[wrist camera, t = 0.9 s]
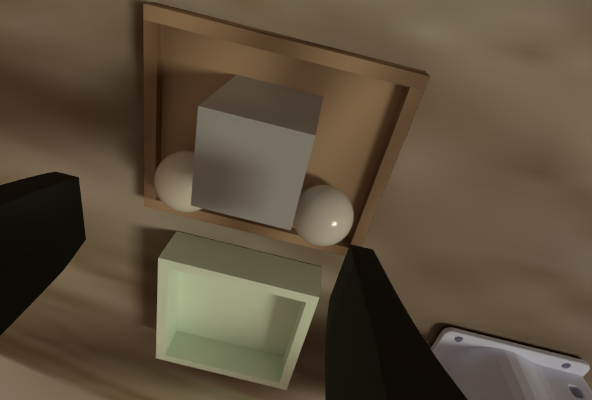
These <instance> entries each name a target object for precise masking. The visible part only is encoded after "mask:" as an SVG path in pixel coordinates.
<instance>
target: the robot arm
mask: <svg viewBox="0 0 592 400" xmlns="http://www.w3.org/2000/svg"><path fill="white" fill-rule="evenodd" d="M85 240H86V236H85V228H84V219H83V211H82V202H81V193H80V185H79V177H75V176H71V175H67V174H63V173H59V172H51V173H46V174H41V175H37V176H33V177H29V178H25V179H21V180H18V181H14V182H10V183H7V184H3V185H0V335H1V334H2V333H3V332H4V331H5V330H6V329H7V328H8V327H9V326H10V325H11V324H12V323H13V322H14V321H15V320H16V319H17V318H18V317H19V316H20V315H21V314H22V313H23V312H24V311H25V310H26V309H27V308H28V307H29V306H30V305H31V304H32V302H33V301H34V300H35V299H36V298H37V297H38V296H39V295H40V294H41V293H42V292H43V291H44V290H45V289H46V288H47V287H48V286H49V285H50V284H51V283H52V282H53V281H54V280H55V279H56V278H57V276H58V275H59V274H60V273H61V272H62V271H63V270H64V269H65V267H66V266H67V265H68V263H69V262H70V261H71V259H72V258H73V257H74V255H75V254H76V253H77V251H78V250H79V248H80V247H81V245H82V244H83V243H84V241H85ZM458 336H459V337H458ZM589 370H590V366H589V365H588V363H587V362H586V361H585V360H582V359H577V358H573V357H569V356H565V355H561V354H557V353H553V352H549V351H545V350H541V349H537V348H533V347H529V346H525V345H521V344H517V343H513V342H509V341H505V340H501V339H497V338H493V337H489V336H484V335H480V334H476V333H472V332H468V331H464V330H460V329H456V328H452V327H448V328H445V329H443V330H442V332H441V333H440V335H439V336H438V338H437V339H436V341H435V342H434V344H433V345H432V347H431V348H430V347H429V346H428V344H427V343H426V341H425V340H424V338H423V337H422V335H421V334H420V332H419V331H418V329H417V327H416V326H415V324H414V323H413V321H412V319H411V318H410V316H409V314H408V312H407V311H406V309H405V307H404V306H403V304H402V302H401V301H400V299H399V297H398V295H397V293H396V292H395V290H394V288H393V286H392V284H391V282H390V281H389V279H388V277H387V275H386V273H385V271H384V269H383V267H382V265H381V264H380V262H379V260H378V258H377V256H376V254H375V252H374V251H373V250H372V249H368V248H364V247H360V246H356V245H352V244H350V246H349V248H348V251H347V254H346V256H345V259H344V262H343V264H342V267H341V270H340V273H339V275H338V278H337V281H336V283H335V286H334V289H333V291H332V294H331V297H330V300H329V308H328V317H327V326H326V341H325V379H326V400H592V391H591V390H590V388H589V386H588V385H587V383H586V381H585V380H584V378H583V376H584V375H585V374H586V373H587V372H588V371H589Z"/></svg>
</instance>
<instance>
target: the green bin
mask: <svg viewBox="0 0 592 400" xmlns="http://www.w3.org/2000/svg"><path fill="white" fill-rule="evenodd" d="M321 274H322V267H319V266H315V265H311V264H307V263H303V262H299V261H295V260H291V259H287V258H283V257H279V256H275V255H271V254H267V253H263V252H259V251H255V250H251V249H247V248H243V247H239V246H235V245H231V244H227V243H223V242H219V241H215V240H211V239H207V238H202V237H198V236H194V235H190V234H186V233H182V232H178V231H176V233H175V234H174V236H173V237H172V238H171V240H170V241H169V243H168V244H167V246H166V247H165V249H164V250H163V251H162V253H161V254H160V256H159V257H158V287H157V332H156V358H157V359H161V360H165V361H169V362H173V363H177V364H181V365H185V366H190V367H194V368H198V369H202V370H206V371H210V372H214V373H218V374H222V375H226V376H231V377H235V378H239V379H243V380H247V381H251V382H255V383H259V384H263V385H267V386H271V387H276V388H280V389H284V390H287V387H288V385H289V382H290V379H291V376H292V373H293V371H294V368H295V365H296V362H297V359H298V357H299V354H300V351H301V348H302V345H303V343H304V340H305V337H306V334H307V331H308V329H309V326H310V323H311V320H312V317H313V315H314V312H315V309H316V306H317V303H318V301H319V298H320V287H321Z"/></svg>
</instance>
